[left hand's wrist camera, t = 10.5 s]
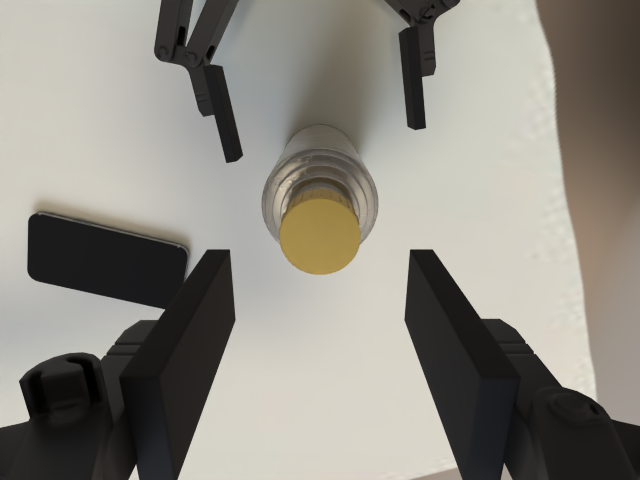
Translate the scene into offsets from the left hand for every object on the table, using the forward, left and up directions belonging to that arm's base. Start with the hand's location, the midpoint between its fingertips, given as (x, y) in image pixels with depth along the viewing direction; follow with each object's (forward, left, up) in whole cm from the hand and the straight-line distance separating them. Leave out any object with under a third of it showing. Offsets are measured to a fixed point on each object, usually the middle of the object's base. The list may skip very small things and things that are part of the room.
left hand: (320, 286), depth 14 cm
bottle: (0, 0, -25) cm, 25 cm away
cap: (0, 0, -5) cm, 5 cm away
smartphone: (-16, -16, -25) cm, 34 cm away
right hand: (-1, +2, -18) cm, 19 cm away
